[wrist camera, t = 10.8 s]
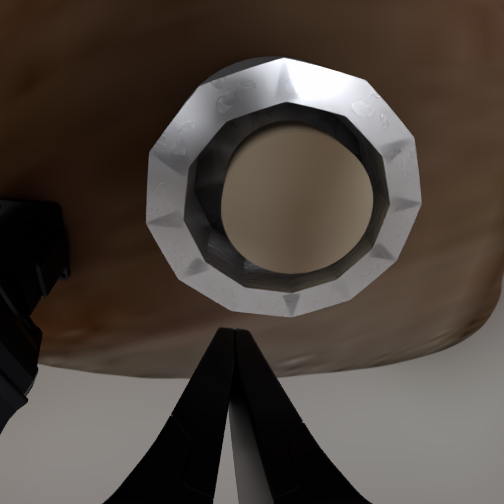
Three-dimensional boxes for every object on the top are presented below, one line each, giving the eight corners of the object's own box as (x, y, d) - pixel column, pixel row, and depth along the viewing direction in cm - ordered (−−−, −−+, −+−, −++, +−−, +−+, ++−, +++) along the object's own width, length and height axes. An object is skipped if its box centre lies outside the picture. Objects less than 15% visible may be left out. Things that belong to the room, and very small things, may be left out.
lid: (217, 228, 16) (212, 264, 13) (236, 109, 13) (234, 119, 10) (330, 245, 16) (345, 280, 14) (365, 137, 13) (392, 155, 11)
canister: (164, 232, 20) (137, 304, 14) (186, 42, 14) (151, 28, 8) (338, 257, 22) (368, 329, 16) (393, 89, 15) (463, 109, 10)
